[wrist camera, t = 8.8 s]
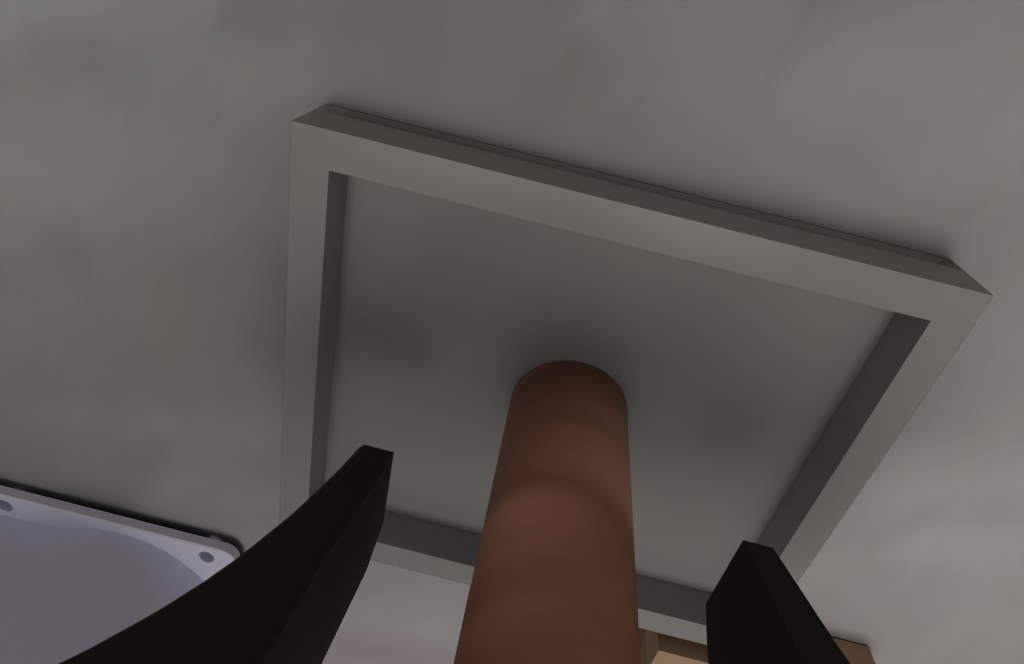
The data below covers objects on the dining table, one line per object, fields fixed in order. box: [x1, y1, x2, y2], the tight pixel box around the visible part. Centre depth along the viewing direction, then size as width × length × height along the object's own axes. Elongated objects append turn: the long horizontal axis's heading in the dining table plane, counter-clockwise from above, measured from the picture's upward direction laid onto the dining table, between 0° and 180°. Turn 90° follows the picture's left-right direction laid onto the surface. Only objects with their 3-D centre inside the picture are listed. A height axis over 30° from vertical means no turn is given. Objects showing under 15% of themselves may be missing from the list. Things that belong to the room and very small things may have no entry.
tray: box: [280, 104, 993, 645], centre depth 16 cm, size 14×12×2 cm
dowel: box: [454, 361, 641, 664], centre depth 12 cm, size 3×3×9 cm
